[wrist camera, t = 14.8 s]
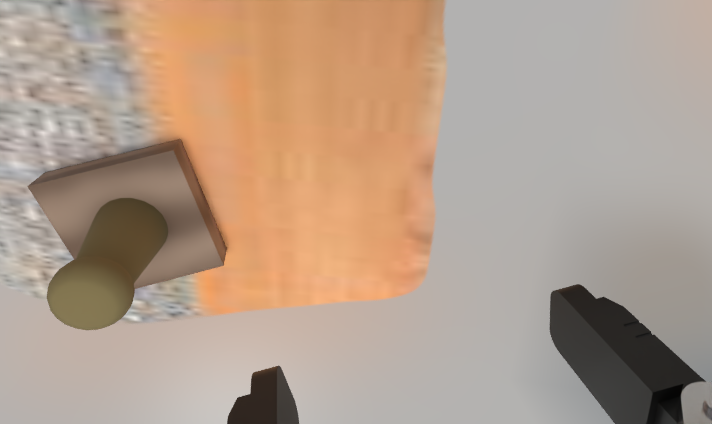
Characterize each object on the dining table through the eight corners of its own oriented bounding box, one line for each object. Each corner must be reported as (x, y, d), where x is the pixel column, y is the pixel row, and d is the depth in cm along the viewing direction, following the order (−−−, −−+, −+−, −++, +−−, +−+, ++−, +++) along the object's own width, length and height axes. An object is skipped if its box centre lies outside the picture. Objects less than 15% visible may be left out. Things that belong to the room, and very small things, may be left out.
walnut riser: (45, 172, 37) (27, 186, 35) (180, 139, 38) (173, 150, 35) (109, 279, 43) (99, 298, 41) (226, 249, 44) (223, 265, 41)
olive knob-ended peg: (95, 253, 38) (34, 341, 29) (92, 193, 36) (25, 267, 26) (167, 260, 40) (132, 346, 30) (169, 202, 37) (132, 276, 28)
